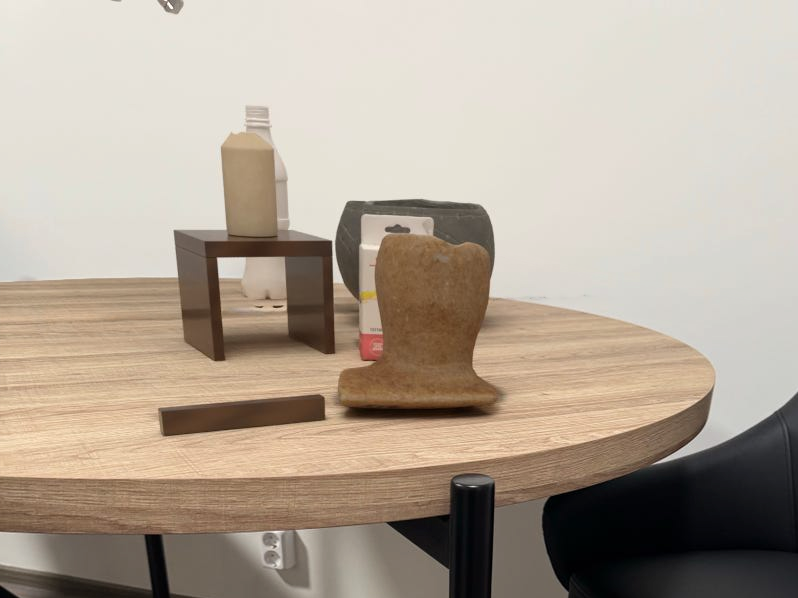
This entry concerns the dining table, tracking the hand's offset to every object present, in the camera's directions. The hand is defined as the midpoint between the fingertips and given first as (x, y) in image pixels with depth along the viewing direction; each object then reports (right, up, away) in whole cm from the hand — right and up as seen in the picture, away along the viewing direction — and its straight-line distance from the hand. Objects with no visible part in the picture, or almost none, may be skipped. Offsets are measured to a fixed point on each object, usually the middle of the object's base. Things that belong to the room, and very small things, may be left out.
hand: (149, 2), depth 97 cm
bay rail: (+14, -48, -17) cm, 52 cm away
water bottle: (+4, -18, +38) cm, 43 cm away
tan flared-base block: (+28, -44, -8) cm, 52 cm away
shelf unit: (+8, -32, +12) cm, 35 cm away
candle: (+9, -21, +7) cm, 24 cm away
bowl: (+25, -23, +31) cm, 46 cm away
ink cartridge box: (+25, -33, +11) cm, 43 cm away
